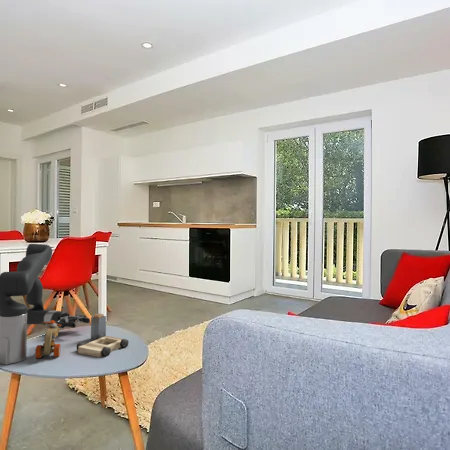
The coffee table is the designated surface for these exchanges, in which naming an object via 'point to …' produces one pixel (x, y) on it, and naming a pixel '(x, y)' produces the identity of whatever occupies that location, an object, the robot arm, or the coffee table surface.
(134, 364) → the coffee table surface
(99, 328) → the block
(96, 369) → the coffee table surface
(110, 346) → the chassis
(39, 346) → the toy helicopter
